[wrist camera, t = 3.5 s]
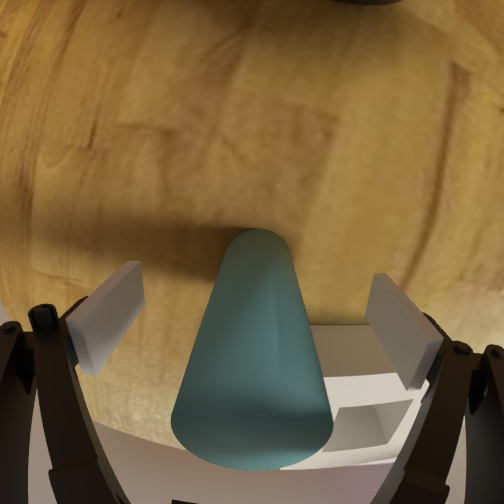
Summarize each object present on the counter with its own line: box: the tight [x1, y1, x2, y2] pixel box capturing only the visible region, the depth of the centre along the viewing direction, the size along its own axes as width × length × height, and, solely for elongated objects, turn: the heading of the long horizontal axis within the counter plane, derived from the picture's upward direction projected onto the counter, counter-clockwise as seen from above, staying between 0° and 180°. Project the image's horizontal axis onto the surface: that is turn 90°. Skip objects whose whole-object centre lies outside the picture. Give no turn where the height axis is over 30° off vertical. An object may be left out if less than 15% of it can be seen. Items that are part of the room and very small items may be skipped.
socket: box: [280, 325, 430, 470], centre depth 21 cm, size 12×12×6 cm
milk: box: [445, 416, 466, 504], centre depth 16 cm, size 6×6×22 cm
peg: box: [171, 229, 334, 471], centre depth 13 cm, size 4×4×14 cm
